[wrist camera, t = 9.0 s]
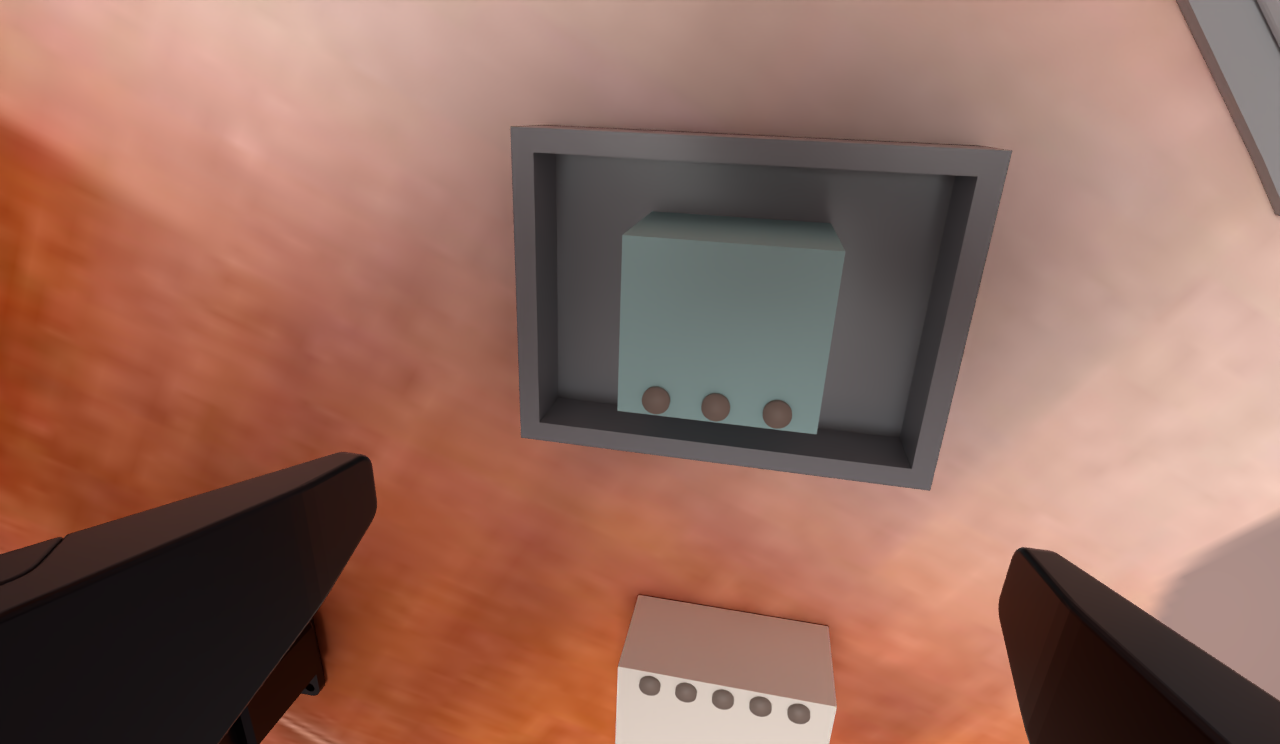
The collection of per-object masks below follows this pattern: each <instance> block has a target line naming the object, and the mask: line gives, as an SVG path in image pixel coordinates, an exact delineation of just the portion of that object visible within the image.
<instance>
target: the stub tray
mask: <svg viewBox="0 0 1280 744" xmlns="http://www.w3.org/2000/svg"><path fill="white" fill-rule="evenodd" d="M1011 153H1012V151H1011V150H1004V149H998V148H991V147H985V146H974V145H953V144H932V143H911V142H890V141H869V140H848V139H827V138H806V137H785V136H764V135H743V134H722V133H701V132H680V131H658V130H637V129H616V128H595V127H574V126H553V125H532V126H511V154H512V184H513V214H514V243H515V273H516V302H517V332H518V362H519V391H520V421H521V438H528V439H536V440H544V441H552V442H559V443H567V444H575V445H582V446H590V447H598V448H606V449H613V450H621V451H629V452H636V453H644V454H652V455H659V456H667V457H675V458H683V459H690V460H698V461H706V462H713V463H721V464H729V465H736V466H744V467H752V468H760V469H767V470H775V471H783V472H790V473H798V474H806V475H814V476H821V477H829V478H837V479H844V480H852V481H860V482H867V483H875V484H883V485H891V486H898V487H906V488H914V489H921V490H929V491H930V489H931V485H932V481H933V477H934V472H935V468H936V464H937V460H938V456H939V452H940V448H941V443H942V439H943V435H944V431H945V427H946V423H947V419H948V414H949V410H950V406H951V402H952V398H953V394H954V390H955V385H956V381H957V377H958V373H959V369H960V365H961V361H962V356H963V352H964V348H965V344H966V340H967V336H968V332H969V327H970V323H971V319H972V315H973V311H974V307H975V303H976V298H977V294H978V290H979V286H980V282H981V278H982V274H983V269H984V265H985V261H986V257H987V253H988V249H989V245H990V240H991V236H992V232H993V228H994V224H995V220H996V215H997V211H998V207H999V203H1000V199H1001V195H1002V191H1003V186H1004V182H1005V178H1006V174H1007V170H1008V166H1009V162H1010V157H1011ZM652 211H655V212H670V213H685V214H699V215H714V216H729V217H744V218H759V219H774V220H789V221H804V222H818V223H831V224H832V226H833V228H834V230H835V232H836V234H837V236H838V238H839V240H840V242H841V244H842V246H843V248H844V250H845V257H844V264H843V270H842V277H841V283H840V289H839V296H838V302H837V308H836V315H835V321H834V327H833V334H832V340H831V346H830V353H829V359H828V365H827V372H826V378H825V384H824V391H823V397H822V403H821V410H820V416H819V422H818V429H817V434H809V433H800V432H792V431H783V430H775V429H767V428H758V427H750V426H741V425H733V424H725V423H716V422H708V421H699V420H691V419H682V418H674V417H666V416H657V415H649V414H640V413H632V412H624V411H617V408H618V372H619V336H620V300H621V264H622V235H623V234H624V233H625V232H627V231H628V230H629V229H631V228H632V227H633V226H634V225H636V224H637V223H638V222H639V221H641V220H642V219H643V218H644V217H646V216H647V215H648V214H650V213H651V212H652Z"/></svg>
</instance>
